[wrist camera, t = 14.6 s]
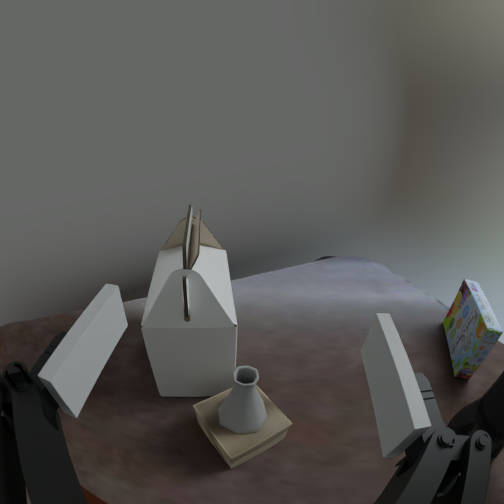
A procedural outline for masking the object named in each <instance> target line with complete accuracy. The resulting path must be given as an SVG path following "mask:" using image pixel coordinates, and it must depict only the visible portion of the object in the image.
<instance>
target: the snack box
mask: <svg viewBox="0 0 504 504" xmlns="http://www.w3.org/2000/svg"><path fill="white" fill-rule="evenodd" d="M443 326H444V330H445V334H446V338H447V342H448V347H449V351H450V356H451V361H452V367H453V372H454V377H458V378H464V379H470V377H471V376H472V375H473V374H474V372H475V371H476V370H477V369H478V367H479V366H480V365H481V363H482V362H483V360H484V359H485V358H486V356H487V355H488V353H489V352H490V351H491V349H492V348H493V346H494V345H495V343H496V342H497V340H498V339H499V337H500V336H501V334H502V330H501V327H500V325H499V323H498V321H497V319H496V317H495V315H494V313H493V310H492V309H491V306H490V304H489V302H488V301H487V299H486V297H485V295H484V293H483V291H482V289H481V287H480V286H479V284H478V283H477V282H474V281H470V280H467V279H464V281H463V283H462V285H461V287H460V289H459V291H458V293H457V296H456V298H455V300H454V302H453V304H452V306H451V308H450V310H449V312H448V314H447V315H446V317H445V319H444V321H443Z"/></svg>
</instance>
